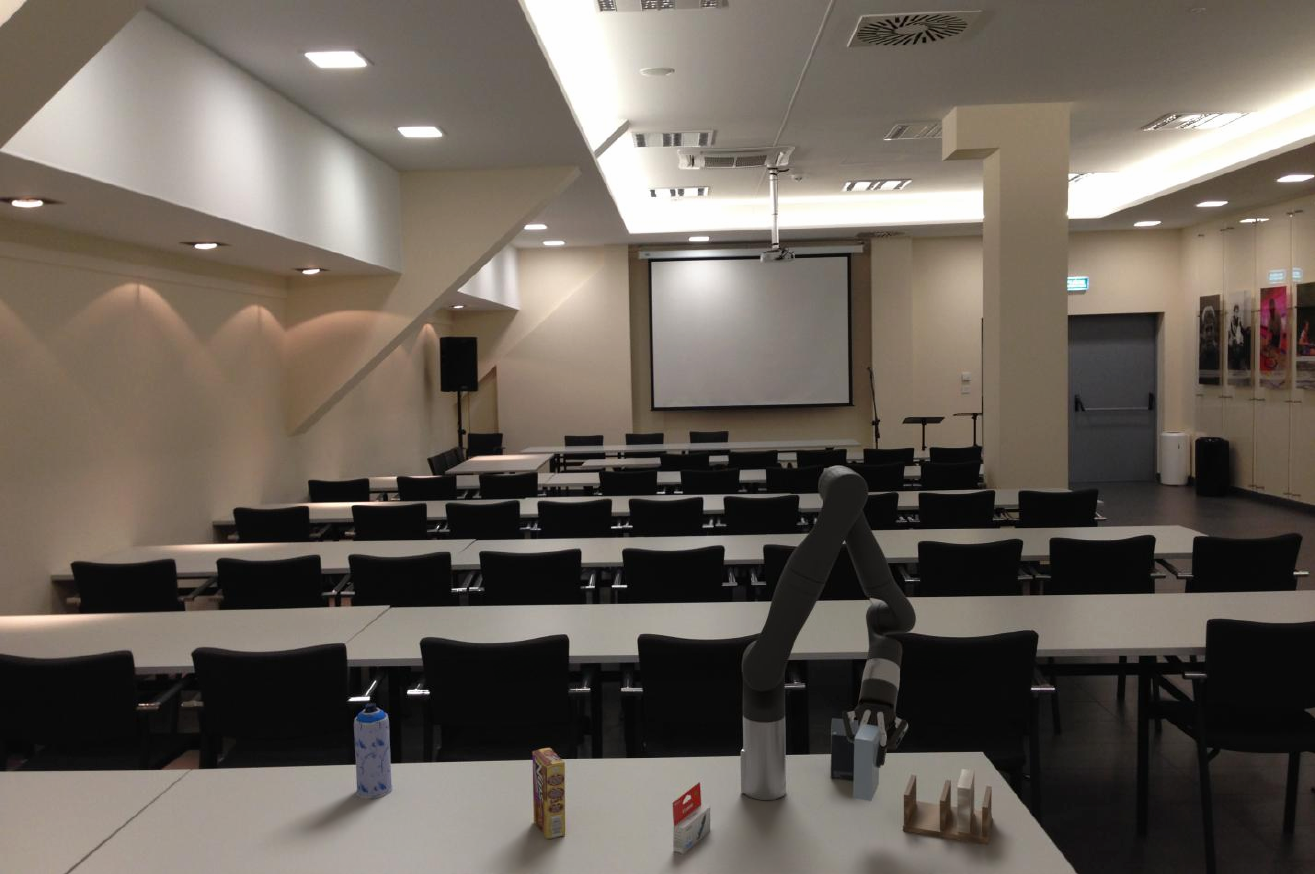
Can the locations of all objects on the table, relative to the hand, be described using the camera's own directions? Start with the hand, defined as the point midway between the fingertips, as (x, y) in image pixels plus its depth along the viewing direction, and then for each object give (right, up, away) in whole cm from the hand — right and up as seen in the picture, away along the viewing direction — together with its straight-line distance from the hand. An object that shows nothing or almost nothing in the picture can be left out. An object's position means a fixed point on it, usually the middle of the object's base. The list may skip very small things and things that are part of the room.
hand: (867, 764), depth 189 cm
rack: (+17, -14, +4) cm, 22 cm away
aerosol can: (-106, -15, +25) cm, 110 cm away
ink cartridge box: (-35, -15, 0) cm, 38 cm away
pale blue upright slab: (0, -5, -1) cm, 5 cm away
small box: (+1, -12, +31) cm, 33 cm away
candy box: (-64, -15, +6) cm, 66 cm away
